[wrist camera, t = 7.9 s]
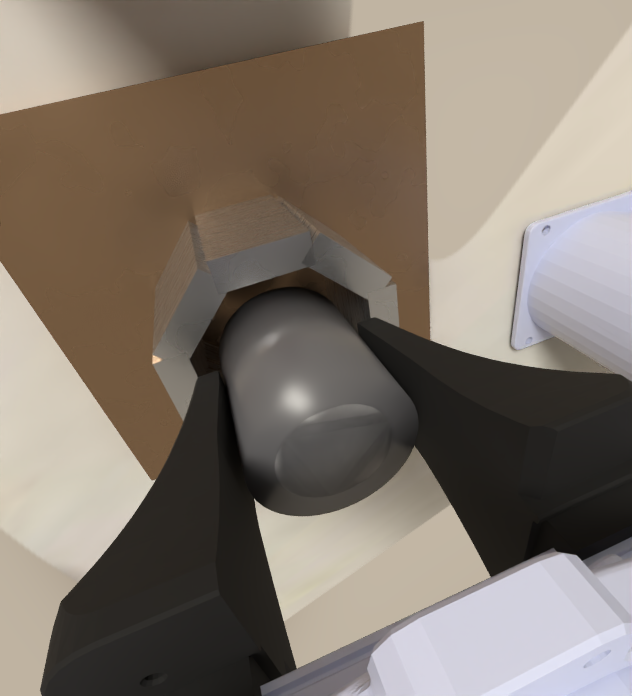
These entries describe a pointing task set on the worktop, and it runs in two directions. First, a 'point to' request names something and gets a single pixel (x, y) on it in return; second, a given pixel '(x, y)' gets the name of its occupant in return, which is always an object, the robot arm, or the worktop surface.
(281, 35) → the worktop surface
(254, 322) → the grey short cylinder
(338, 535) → the worktop surface
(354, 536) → the worktop surface
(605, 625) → the robot arm
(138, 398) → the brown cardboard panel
